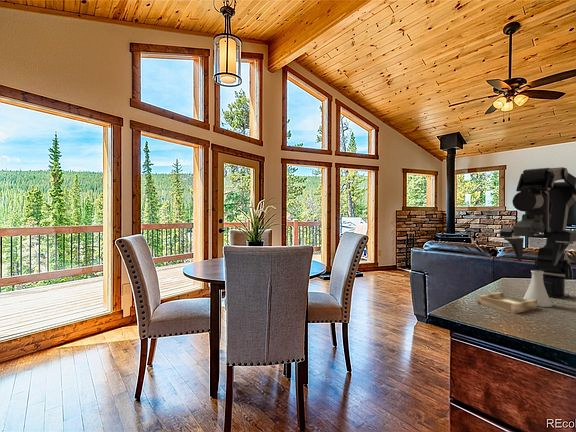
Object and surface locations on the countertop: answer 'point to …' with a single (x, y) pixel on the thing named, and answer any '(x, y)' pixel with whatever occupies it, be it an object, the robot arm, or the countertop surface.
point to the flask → (538, 290)
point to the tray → (506, 302)
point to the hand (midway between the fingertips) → (536, 263)
